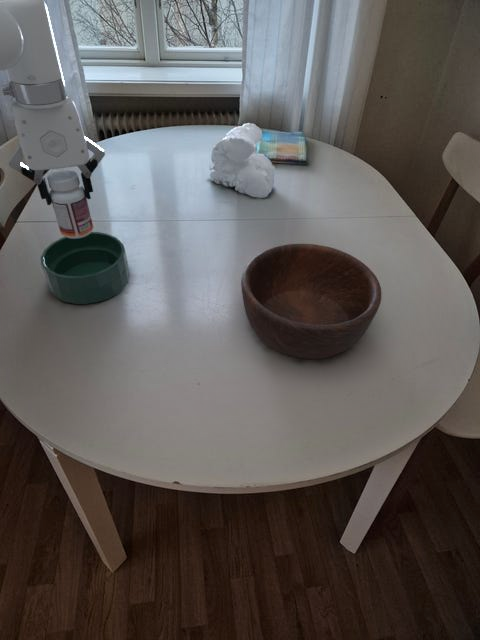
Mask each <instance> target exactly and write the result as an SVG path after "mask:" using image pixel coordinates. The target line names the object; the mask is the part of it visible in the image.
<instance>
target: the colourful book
mask: <svg viewBox="0 0 480 640" xmlns="http://www.w3.org/2000/svg"><path fill="white" fill-rule="evenodd" d="M261 130H262V129H261ZM256 153H259V154H264V156H265V157H266V158H268V159H269V160H270V161H271V163H275V164H289V165H290V164H292V165H301V166H302V165H304V166H305V165H308V163H309V159H308V148H307V137H306V134H305V132H302V131H278V132H277V131H276V132H275V131H268V130H262V139H261V141H260V142H259V143H258V144H257V146H256Z"/></svg>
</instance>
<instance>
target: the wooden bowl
mask: <svg viewBox="0 0 480 640" xmlns="http://www.w3.org/2000/svg"><path fill="white" fill-rule="evenodd" d="M378 279H379V278H377V276H376V274H375V273H374V272H373V270H371V268H370V267H369V266H367V265H366V264H365V263H364V262H363V261H361V260H360V259H358V258H357V257H355V256H353V255H351V254H349V253H347V252H346V251H342V250H340V249H337V248H335V247H330V246H327V245H321V244H314V243H287V244H282V245H277V246H274V247H271V248H268V249H265V250H263V251H261V252H259V253H258V254H257V255H255V256H254V257H252V258H251V260H249V262H248V263H247V264H246V265H245V267H244V270H243V272H242V275H241V280H240V284H241V285H240V286H241V295H242V296H241V297H242V304H243V307H244V311H245V315H246V318H247V320H248V322H249V325H250V326H251V328H252V329H253V331H254V333H255V334H256V335H257V336H258V338H259V339H260V340H261V341H263V343H264V344H266V345H267V346H268V347H270V348H271V349H273V350H275V351H277V352H279V353H281V354H284V355H287V356H290V357H293V358H298V359H303V360H304V359H305V360H321V359H326V358H331V357H334V356H336V355H339V354H341V353H343V352H344V351H346V350H348V349H350V348H351V347H352V346H353V345H354V344H356V343H358V341H359V340H360V339H361V338H362V337H363V335H365V333H366V331H367V330H369V329H368V328H369V327H370V325H371V324H372V322H373V320H374V318H375V316H376V315H377V313H378V311H379V308H380V306H381V303H382V288H381V283H380V281H379V280H378Z"/></svg>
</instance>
